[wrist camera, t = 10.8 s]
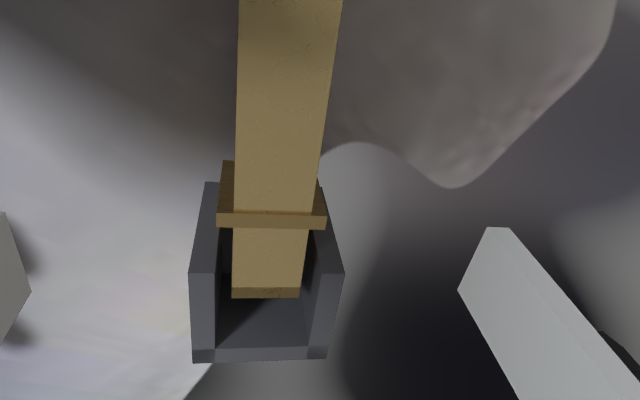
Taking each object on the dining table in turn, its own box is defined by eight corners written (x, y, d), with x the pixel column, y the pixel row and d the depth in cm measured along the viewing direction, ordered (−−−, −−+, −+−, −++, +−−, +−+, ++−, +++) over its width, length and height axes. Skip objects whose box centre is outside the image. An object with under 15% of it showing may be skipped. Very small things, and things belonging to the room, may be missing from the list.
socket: (206, 262, 37) (192, 363, 28) (205, 181, 32) (187, 273, 24) (309, 263, 39) (326, 358, 30) (321, 187, 34) (345, 273, 26)
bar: (222, 239, 32) (216, 300, 27) (228, -449, 15) (214, -658, 10) (303, 240, 33) (312, 299, 28) (393, -394, 16) (463, -553, 11)
